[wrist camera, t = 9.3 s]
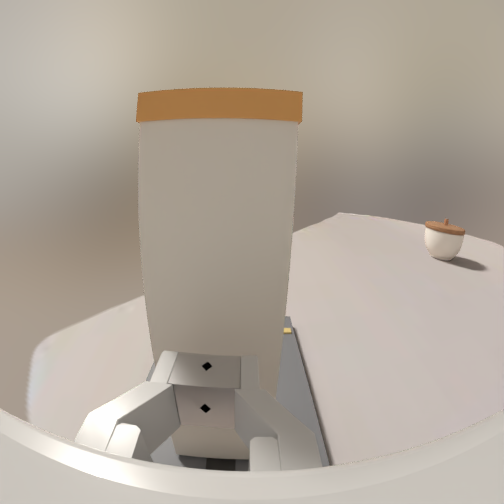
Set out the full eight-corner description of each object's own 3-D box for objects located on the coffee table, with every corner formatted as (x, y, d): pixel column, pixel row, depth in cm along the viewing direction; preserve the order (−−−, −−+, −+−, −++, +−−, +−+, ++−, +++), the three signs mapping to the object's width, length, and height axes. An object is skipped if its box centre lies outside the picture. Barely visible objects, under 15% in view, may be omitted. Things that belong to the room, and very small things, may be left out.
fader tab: (268, 460, 12) (302, 91, 8) (174, 455, 12) (138, 93, 8) (265, 420, 16) (288, 111, 11) (182, 416, 15) (164, 110, 11)
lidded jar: (441, 251, 64) (446, 216, 61) (467, 263, 54) (474, 225, 51) (412, 250, 63) (418, 213, 60) (439, 264, 53) (446, 222, 50)
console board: (331, 496, 11) (336, 488, 10) (114, 484, 10) (107, 475, 10) (288, 324, 30) (289, 315, 29) (176, 320, 29) (175, 311, 29)
